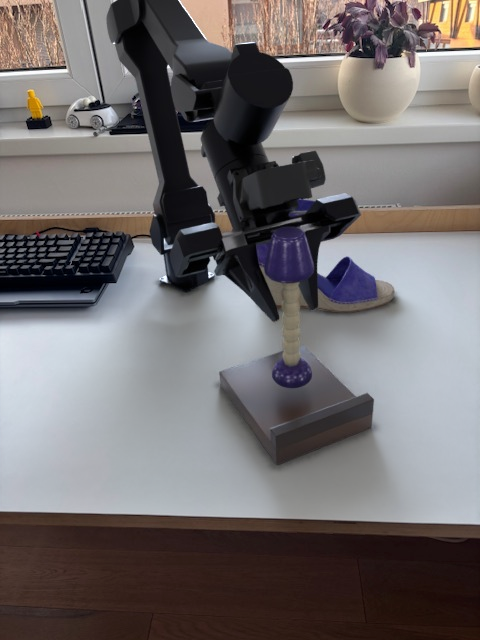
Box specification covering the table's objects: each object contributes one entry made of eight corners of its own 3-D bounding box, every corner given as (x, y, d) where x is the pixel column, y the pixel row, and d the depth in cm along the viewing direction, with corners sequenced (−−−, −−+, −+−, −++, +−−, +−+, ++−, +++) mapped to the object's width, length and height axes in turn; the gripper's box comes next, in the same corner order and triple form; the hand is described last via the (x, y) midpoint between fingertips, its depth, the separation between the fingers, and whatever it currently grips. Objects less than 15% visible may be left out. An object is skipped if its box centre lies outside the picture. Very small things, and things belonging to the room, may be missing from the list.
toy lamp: (311, 392, 55) (315, 242, 46) (266, 391, 56) (261, 242, 47) (312, 364, 59) (315, 220, 50) (269, 363, 60) (265, 220, 51)
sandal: (398, 314, 74) (410, 208, 66) (253, 314, 76) (247, 212, 68) (391, 286, 80) (400, 187, 73) (257, 286, 83) (252, 191, 75)
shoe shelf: (220, 385, 63) (217, 358, 61) (302, 357, 67) (302, 331, 65) (276, 465, 52) (275, 436, 50) (371, 427, 56) (374, 399, 54)
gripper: (162, 140, 44) (224, 318, 41) (356, 108, 50) (421, 262, 47) (149, 203, 54) (198, 349, 52) (311, 170, 60) (362, 300, 58)
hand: (295, 314), depth 52 cm, fingers closed on toy lamp, 4 cm apart
